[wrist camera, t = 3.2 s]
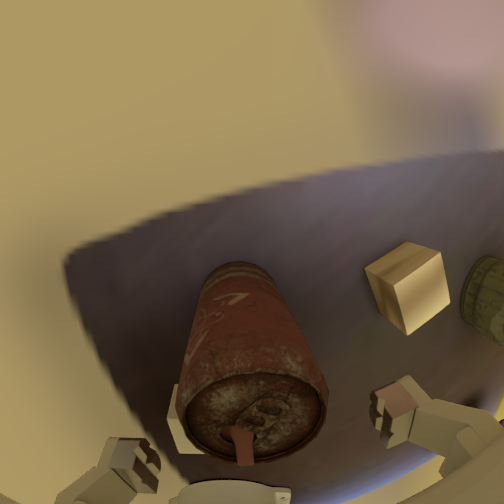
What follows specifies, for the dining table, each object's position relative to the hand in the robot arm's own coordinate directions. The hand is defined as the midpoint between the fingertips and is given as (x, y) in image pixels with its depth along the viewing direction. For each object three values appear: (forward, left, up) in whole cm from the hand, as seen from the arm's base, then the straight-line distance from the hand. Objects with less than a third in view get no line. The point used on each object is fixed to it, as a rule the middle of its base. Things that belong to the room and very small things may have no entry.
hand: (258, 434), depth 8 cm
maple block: (-2, -14, -15) cm, 20 cm away
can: (0, 0, -15) cm, 15 cm away
